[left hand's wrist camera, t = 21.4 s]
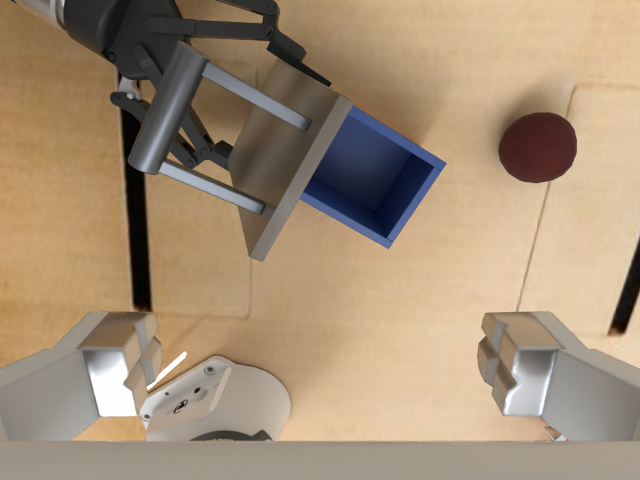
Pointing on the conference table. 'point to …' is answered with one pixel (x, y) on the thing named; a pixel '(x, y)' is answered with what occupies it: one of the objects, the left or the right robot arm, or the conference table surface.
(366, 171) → the chest
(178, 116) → the lid
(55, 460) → the left robot arm
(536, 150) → the dark red ball
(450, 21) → the conference table surface
